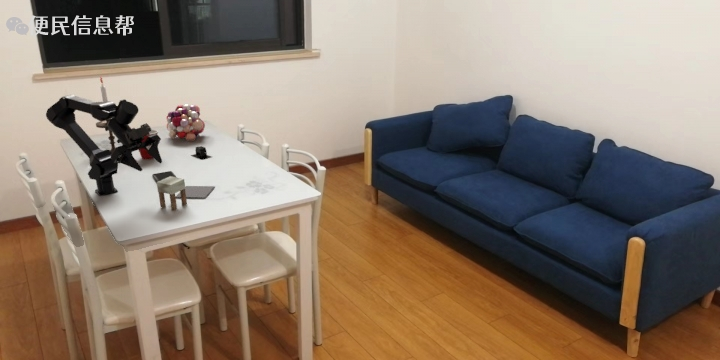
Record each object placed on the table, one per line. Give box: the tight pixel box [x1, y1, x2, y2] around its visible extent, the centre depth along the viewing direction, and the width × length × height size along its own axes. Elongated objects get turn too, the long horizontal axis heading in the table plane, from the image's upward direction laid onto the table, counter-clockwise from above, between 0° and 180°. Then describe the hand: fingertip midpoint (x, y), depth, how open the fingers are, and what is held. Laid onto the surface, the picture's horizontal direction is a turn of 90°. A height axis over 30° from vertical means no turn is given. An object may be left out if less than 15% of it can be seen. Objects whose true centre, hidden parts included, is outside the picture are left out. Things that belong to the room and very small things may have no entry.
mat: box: [175, 185, 216, 200], centre depth 208 cm, size 11×11×1 cm
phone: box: [151, 170, 178, 184], centre depth 222 cm, size 8×1×15 cm
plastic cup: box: [138, 129, 159, 160], centre depth 247 cm, size 11×11×12 cm
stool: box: [156, 176, 188, 211], centre depth 195 cm, size 6×6×10 cm
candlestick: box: [95, 76, 116, 153], centre depth 249 cm, size 11×11×35 cm
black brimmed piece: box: [190, 145, 213, 161], centre depth 249 cm, size 12×7×5 cm, turn 47°
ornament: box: [166, 103, 206, 143], centre depth 274 cm, size 18×19×20 cm
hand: (151, 166), depth 195 cm, fingers open, 9 cm apart
